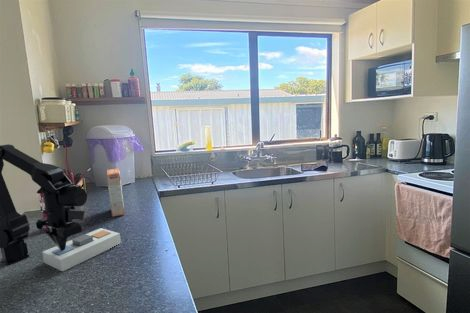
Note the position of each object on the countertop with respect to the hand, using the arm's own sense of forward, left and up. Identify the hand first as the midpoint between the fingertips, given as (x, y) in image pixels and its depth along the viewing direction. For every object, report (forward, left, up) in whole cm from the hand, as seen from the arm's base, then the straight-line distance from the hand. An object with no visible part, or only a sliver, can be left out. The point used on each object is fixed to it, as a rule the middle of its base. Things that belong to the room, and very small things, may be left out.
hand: (62, 249), depth 101 cm
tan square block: (+14, 0, -3) cm, 14 cm away
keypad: (+7, 0, -4) cm, 8 cm away
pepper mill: (+15, +37, -4) cm, 40 cm away
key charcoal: (+7, 0, -2) cm, 7 cm away
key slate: (0, 0, -3) cm, 3 cm away
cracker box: (+41, +27, -4) cm, 49 cm away
